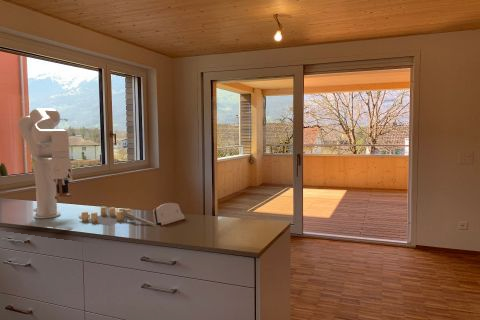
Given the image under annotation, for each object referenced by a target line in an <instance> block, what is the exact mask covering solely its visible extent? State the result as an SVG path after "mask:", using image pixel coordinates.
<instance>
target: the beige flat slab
mask: <svg viewBox="0 0 480 320" xmlns="http://www.w3.org/2000/svg"><path fill="white" fill-rule="evenodd" d="M152 214H153V221H154V224H155V225H158V224H161V226H163V225H168V224H171V223H174V222H177V221H181V220H184V219H185V215H184V214H183V212H182V210H181V208H180V205H179V204H178V203H176V202H168V203H163V204H160V205H158V206H157V207H155V208H154V209H153V210H152Z"/></svg>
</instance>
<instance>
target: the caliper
mask: <svg viewBox="0 0 480 320" xmlns="http://www.w3.org/2000/svg"><path fill="white" fill-rule="evenodd" d="M124 217H125V221H124ZM128 218H129V219H128ZM127 219H128V220H131V221H136V222H139V223H142V224H145V225H148V226H150V227H151V226H153V227H156V226H157V224H155V222H152V221H150V220H147V219H144V218H141V217H139V216H135V214H132V213H131V214H130V213H128V212H127V210H126V211H125V210H124V211H123V212H122V222H127V221H128V220H127Z"/></svg>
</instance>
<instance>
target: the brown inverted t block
mask: <svg viewBox="0 0 480 320" xmlns="http://www.w3.org/2000/svg"><path fill="white" fill-rule="evenodd" d="M58 181H59V193H58V195H56V196H55V199H57V200H63V199H69V198H72V194H71V193H62V185H63V183H62V180H58ZM65 181H66V180H65Z"/></svg>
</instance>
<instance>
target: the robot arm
mask: <svg viewBox="0 0 480 320" xmlns="http://www.w3.org/2000/svg"><path fill="white" fill-rule="evenodd" d="M60 121H61V114H60V113H59V111H58V110H56V109H54V108H34V109H32V110H31V111H30V113H29V115H26V116H22V117H20V118H19V119H18V122H17V125H18V130H19V133H20V135H21V137H22V138H23V139H24V141H25V143H27V146H28V149H29V152H30V155H31V158H32V159H33V163H32V170H33V174H34V180H35V194H36V207H35V208H34V209H33V212H35V214H34V215H33V217H34V219H41V220H42V219H51V218H57V217H59V216H61V212H60V211H58V206H57V205H58V199H55V196H57V194H59V181H58V180H62V183H63V185H62V193H67V194H69V184H70V182H72V181H73V180H74V179H73V166H72V160H71V157H70V142H69V140H70V139H69V136H70V135H69V131H68V130H66V129H55V128H56V127H57V126H58V125H59V124H60ZM65 180H66V181H65Z"/></svg>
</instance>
